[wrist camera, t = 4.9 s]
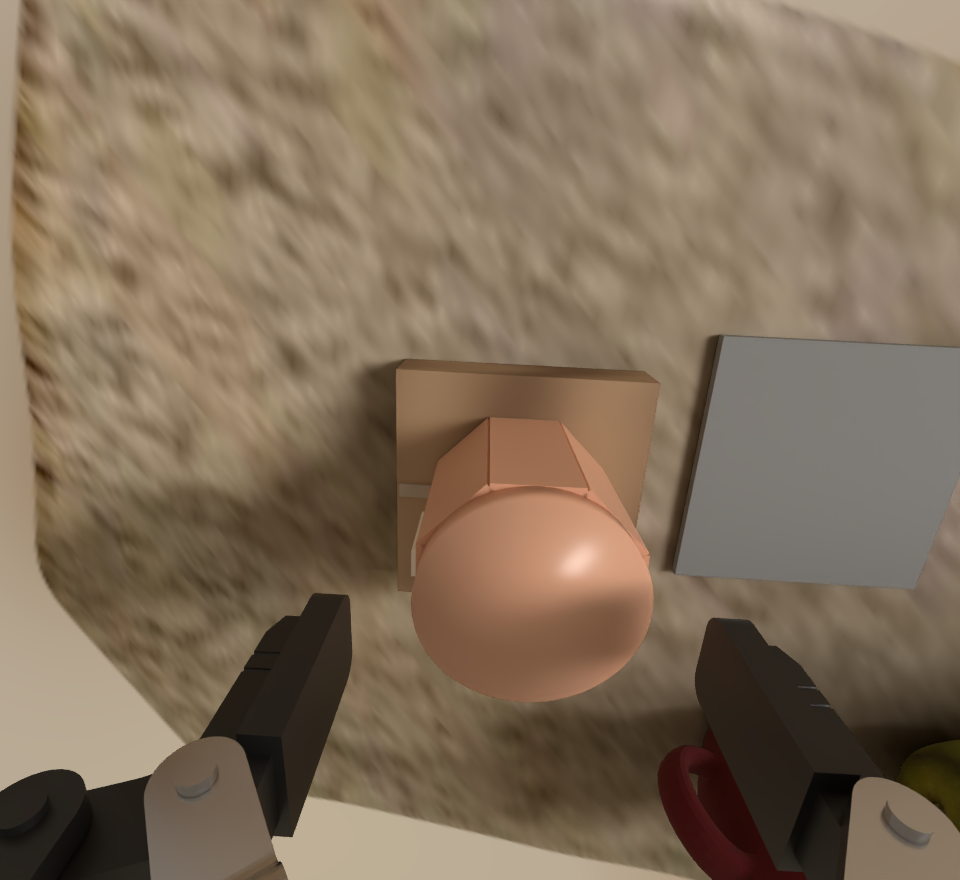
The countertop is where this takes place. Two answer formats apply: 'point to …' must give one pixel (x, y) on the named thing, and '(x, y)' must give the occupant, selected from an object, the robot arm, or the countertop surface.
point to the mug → (714, 815)
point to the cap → (527, 566)
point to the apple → (935, 777)
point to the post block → (522, 395)
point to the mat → (822, 462)
